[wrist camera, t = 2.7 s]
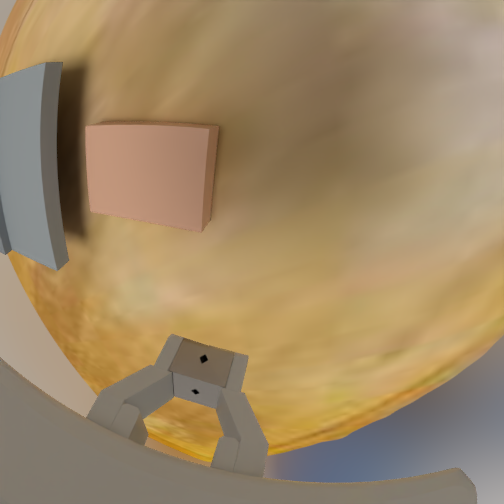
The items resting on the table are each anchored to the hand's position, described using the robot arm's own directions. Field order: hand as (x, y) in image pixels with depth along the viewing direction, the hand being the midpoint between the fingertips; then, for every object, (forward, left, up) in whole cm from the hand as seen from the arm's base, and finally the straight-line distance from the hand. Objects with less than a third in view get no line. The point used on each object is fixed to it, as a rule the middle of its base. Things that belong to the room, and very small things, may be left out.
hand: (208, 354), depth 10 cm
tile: (0, -13, -20) cm, 24 cm away
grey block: (0, -29, -20) cm, 35 cm away
